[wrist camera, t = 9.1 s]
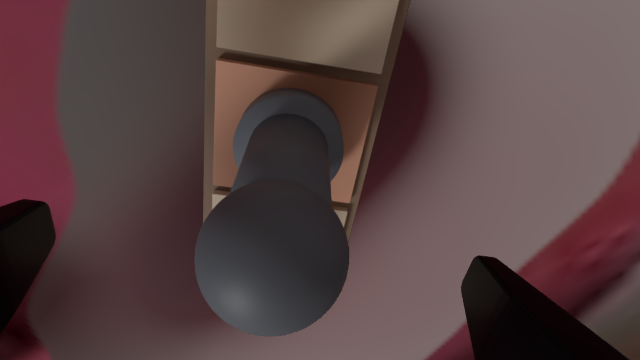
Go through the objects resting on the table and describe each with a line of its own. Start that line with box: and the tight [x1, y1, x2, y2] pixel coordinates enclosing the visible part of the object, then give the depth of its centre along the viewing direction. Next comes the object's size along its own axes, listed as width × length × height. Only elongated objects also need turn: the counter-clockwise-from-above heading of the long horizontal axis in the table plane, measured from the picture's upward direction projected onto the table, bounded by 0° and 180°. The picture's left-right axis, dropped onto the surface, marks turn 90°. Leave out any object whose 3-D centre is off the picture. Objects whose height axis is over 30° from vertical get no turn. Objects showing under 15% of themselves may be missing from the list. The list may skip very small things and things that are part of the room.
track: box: [203, 0, 411, 241], centre depth 12 cm, size 6×20×1 cm, turn 171°
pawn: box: [194, 88, 349, 336], centre depth 10 cm, size 4×4×8 cm
